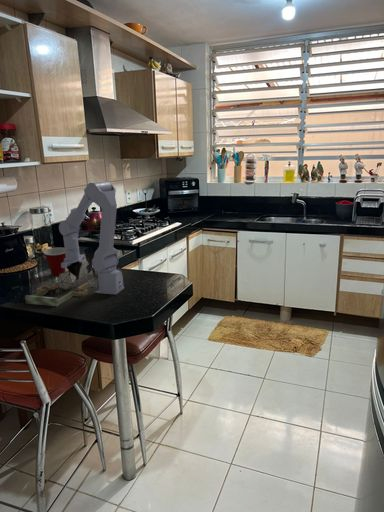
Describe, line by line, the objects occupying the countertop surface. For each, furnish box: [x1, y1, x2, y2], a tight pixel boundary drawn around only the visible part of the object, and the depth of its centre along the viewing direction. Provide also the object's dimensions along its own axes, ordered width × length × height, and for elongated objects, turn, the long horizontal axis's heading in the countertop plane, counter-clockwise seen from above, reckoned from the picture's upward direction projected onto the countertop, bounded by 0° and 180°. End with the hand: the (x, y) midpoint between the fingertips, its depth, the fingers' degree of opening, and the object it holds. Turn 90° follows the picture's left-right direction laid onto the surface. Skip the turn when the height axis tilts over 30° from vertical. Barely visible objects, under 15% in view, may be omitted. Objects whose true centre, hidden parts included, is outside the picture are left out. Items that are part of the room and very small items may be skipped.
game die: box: [55, 269, 80, 293], centre depth 157 cm, size 9×8×10 cm
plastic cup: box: [43, 247, 66, 277], centre depth 177 cm, size 11×11×12 cm
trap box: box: [24, 282, 90, 307], centre depth 152 cm, size 22×22×3 cm
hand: (75, 279), depth 163 cm, fingers closed
